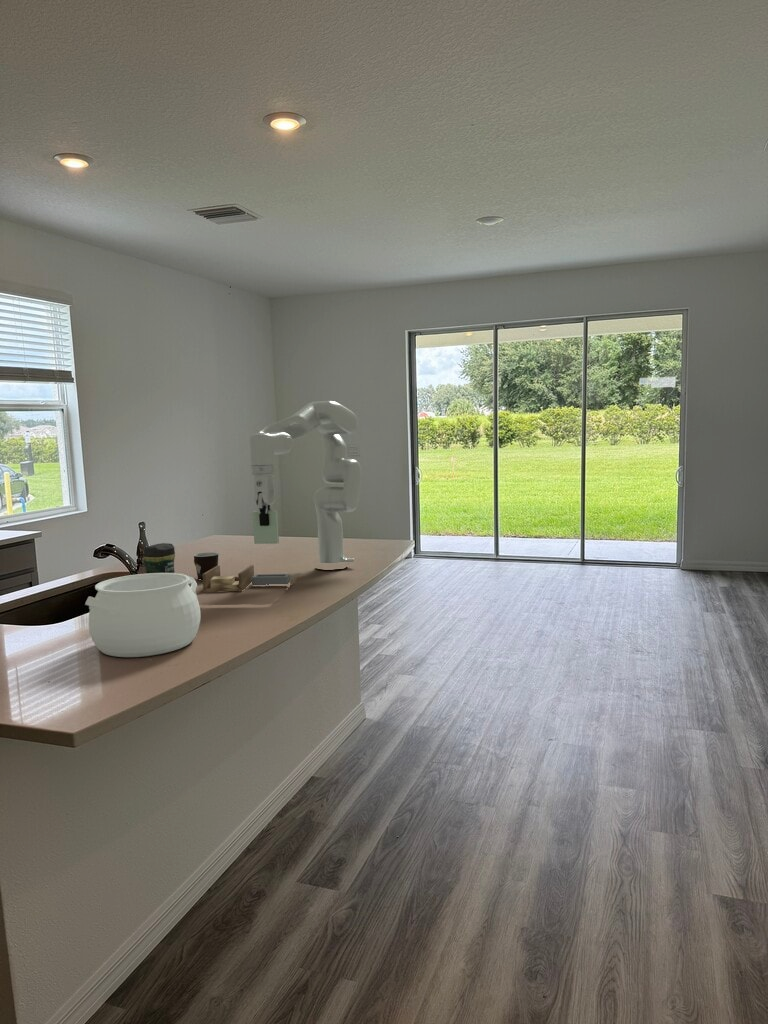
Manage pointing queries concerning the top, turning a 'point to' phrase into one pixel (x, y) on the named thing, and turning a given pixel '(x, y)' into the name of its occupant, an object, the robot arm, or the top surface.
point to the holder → (270, 579)
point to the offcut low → (234, 585)
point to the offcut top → (223, 580)
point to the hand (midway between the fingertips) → (265, 524)
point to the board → (266, 529)
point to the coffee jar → (159, 558)
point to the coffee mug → (205, 562)
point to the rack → (243, 579)
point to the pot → (144, 614)
